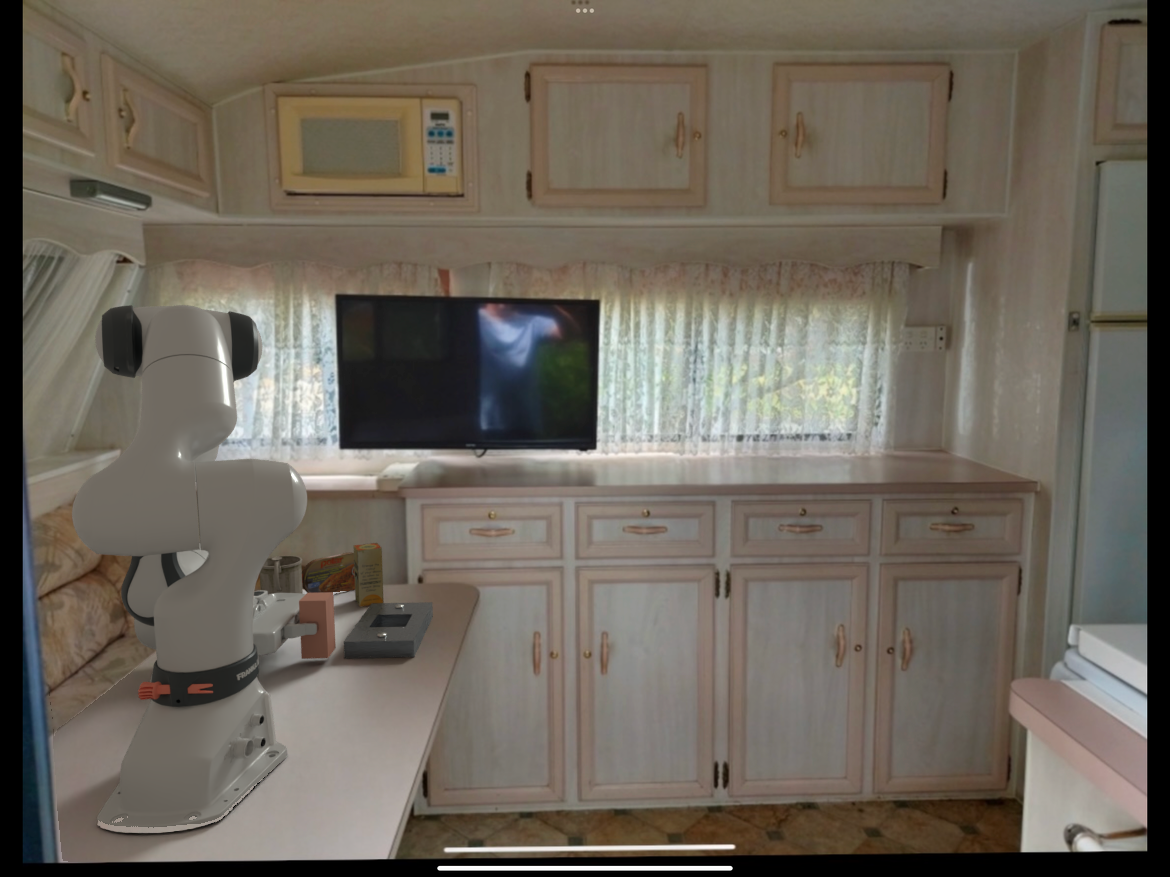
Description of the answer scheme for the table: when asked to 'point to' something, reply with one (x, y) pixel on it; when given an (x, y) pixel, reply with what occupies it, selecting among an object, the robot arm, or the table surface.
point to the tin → (329, 574)
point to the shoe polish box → (368, 574)
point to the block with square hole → (389, 630)
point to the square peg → (322, 612)
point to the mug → (282, 575)
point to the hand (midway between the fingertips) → (322, 621)
